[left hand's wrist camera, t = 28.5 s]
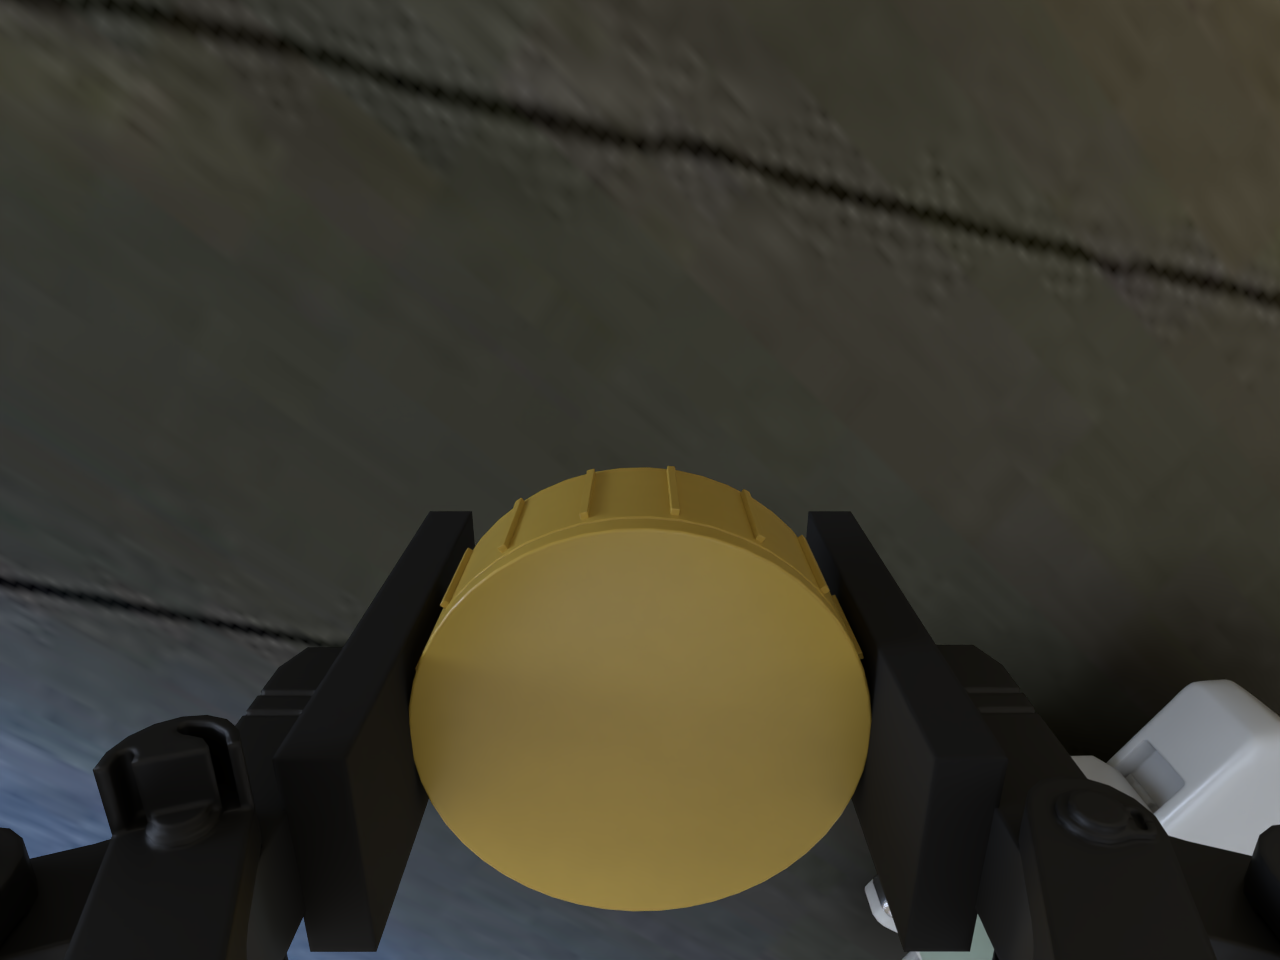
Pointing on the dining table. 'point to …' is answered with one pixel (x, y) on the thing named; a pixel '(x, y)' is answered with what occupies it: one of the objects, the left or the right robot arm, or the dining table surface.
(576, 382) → the dining table surface
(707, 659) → the lid
